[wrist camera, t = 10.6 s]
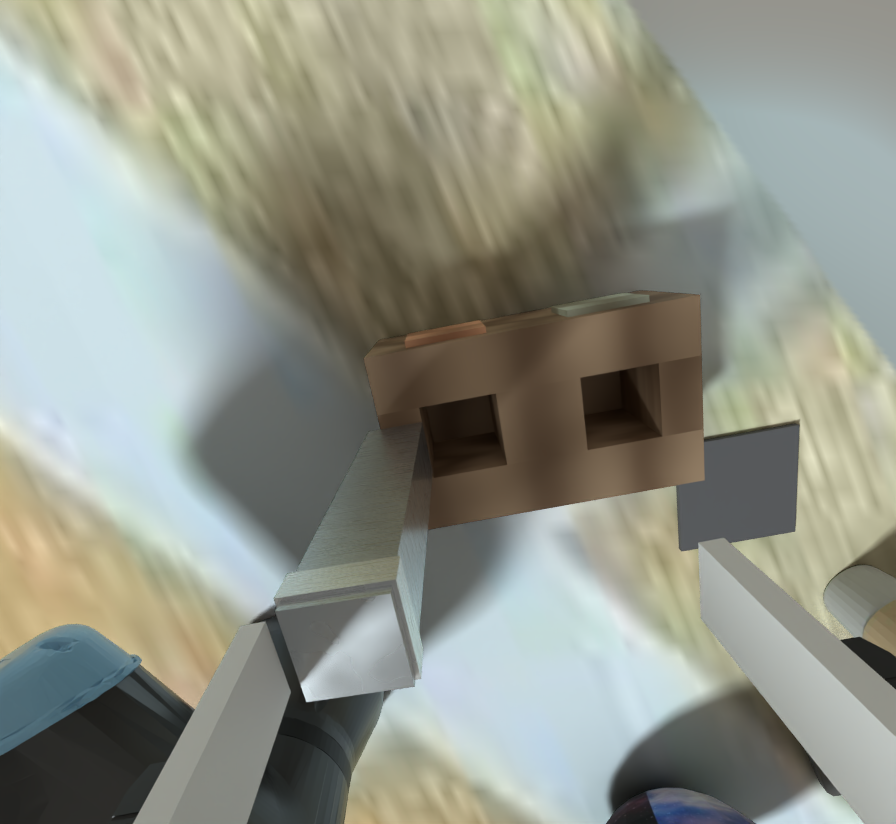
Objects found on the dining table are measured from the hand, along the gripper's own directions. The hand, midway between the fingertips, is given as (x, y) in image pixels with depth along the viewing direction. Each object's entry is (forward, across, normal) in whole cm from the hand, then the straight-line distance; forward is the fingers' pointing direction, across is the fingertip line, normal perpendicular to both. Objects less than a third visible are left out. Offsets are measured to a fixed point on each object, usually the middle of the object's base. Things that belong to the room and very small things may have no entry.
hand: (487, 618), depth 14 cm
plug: (+16, -4, 0) cm, 16 cm away
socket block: (+24, +6, 0) cm, 24 cm away
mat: (+24, +22, -12) cm, 35 cm away
